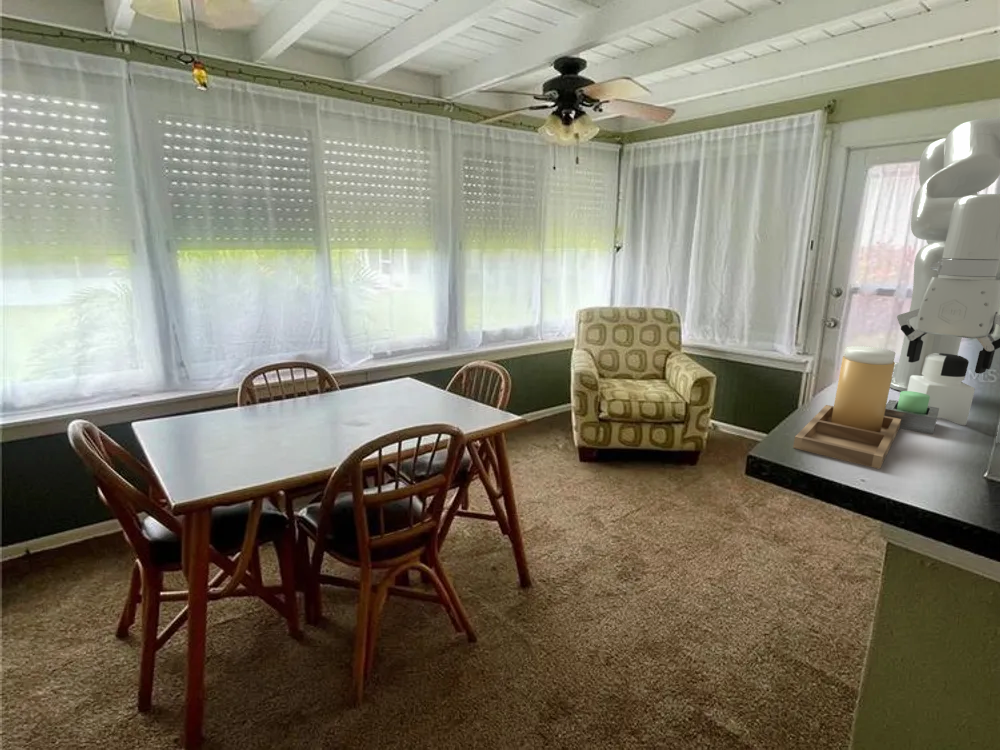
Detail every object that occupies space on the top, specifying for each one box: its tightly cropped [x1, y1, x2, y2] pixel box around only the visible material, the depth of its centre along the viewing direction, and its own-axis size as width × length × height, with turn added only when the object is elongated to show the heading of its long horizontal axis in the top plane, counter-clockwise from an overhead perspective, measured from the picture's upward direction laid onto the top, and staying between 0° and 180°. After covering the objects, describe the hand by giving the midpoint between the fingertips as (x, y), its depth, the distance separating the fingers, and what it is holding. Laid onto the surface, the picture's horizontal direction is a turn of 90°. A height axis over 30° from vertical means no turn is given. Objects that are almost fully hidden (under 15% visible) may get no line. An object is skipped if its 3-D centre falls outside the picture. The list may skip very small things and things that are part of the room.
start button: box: [897, 391, 930, 414], centre depth 90 cm, size 4×4×4 cm
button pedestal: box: [884, 399, 939, 435], centre depth 90 cm, size 7×7×4 cm
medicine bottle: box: [907, 353, 976, 427], centre depth 95 cm, size 7×7×12 cm
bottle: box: [831, 345, 896, 432], centre depth 86 cm, size 7×7×14 cm
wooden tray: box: [792, 404, 901, 470], centre depth 84 cm, size 21×11×3 cm, turn 138°
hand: (945, 366), depth 94 cm, fingers open, 9 cm apart
